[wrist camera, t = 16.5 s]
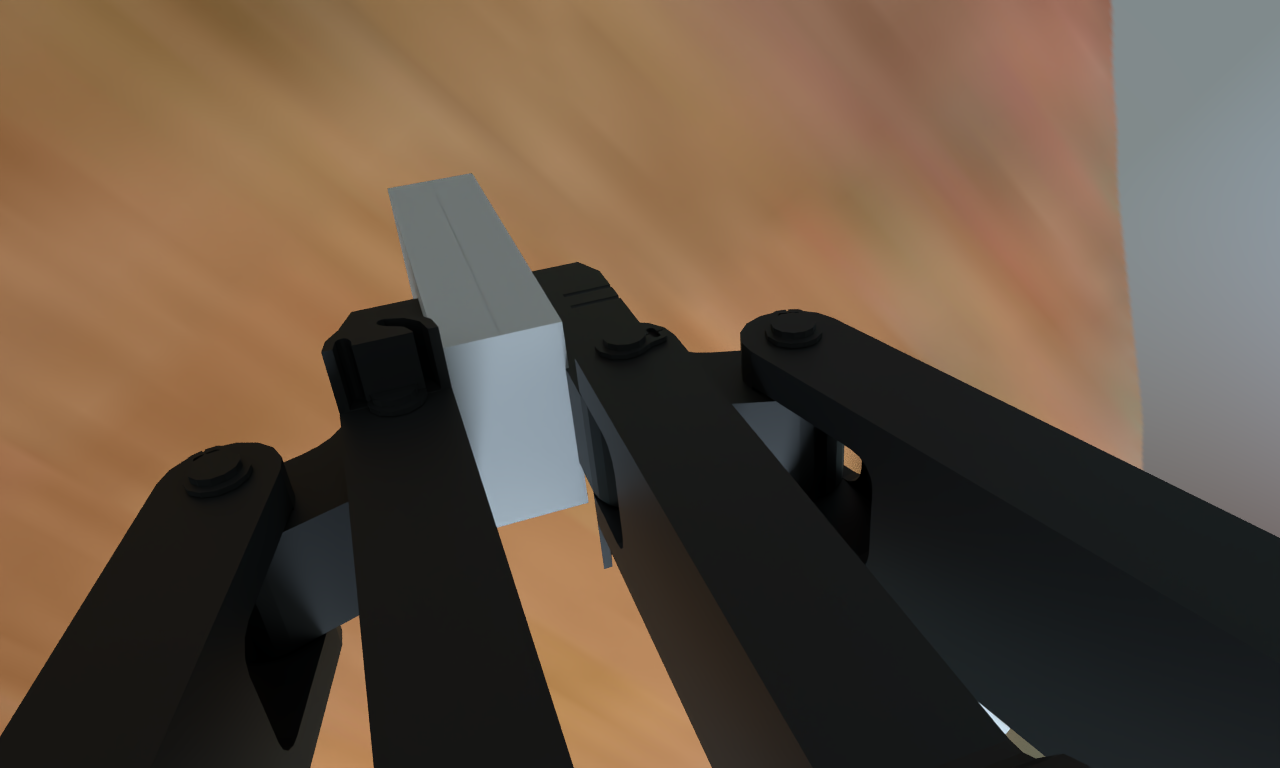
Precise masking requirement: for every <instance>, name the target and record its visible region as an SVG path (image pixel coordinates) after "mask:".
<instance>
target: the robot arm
mask: <svg viewBox="0 0 1280 768" xmlns="http://www.w3.org/2000/svg"><path fill="white" fill-rule="evenodd" d="M388 193H389V197H390V201H391V206H392V210H393V214H394V219H395V223H396V227H397V231H398V236H399V240H400V244H401V248H402V253H403V257H404V261H405V265H406V270H407V274H408V278H409V283H410V287H411V291H412V295H413V299H411V300H406V301H402V302H397V303H392V304H387V305H383V306H378V307H373V308H368V309H364V310H359V311H354V312H351V313H350V315H349V316H348V317H347V319H346V320H345V321H344V323H343V324H342V326H341V327H340V328H339V331H337V332H336V333H335V334H333V335H332V336H331V337H330V338H329V339H328V340H327V341H325V343H324V346H323V349H322V352H321V353H322V356H323V360H324V363H325V366H326V370H327V373H328V376H329V380H330V383H331V386H332V390H333V393H334V396H335V400H336V403H337V406H338V410H339V413H340V421H341V428H340V429H339V430H338V431H337V432H336V433H335V434H334V435H333V436H332V437H331V438H330V439H328V440H327V441H325V442H324V443H322V444H321V445H319V446H318V447H316V448H314V449H312V450H310V451H308V452H306V453H304V454H302V455H300V456H298V457H295V458H293V459H291V460H288V461H286V462H284V463H283V460H282V457H281V456H280V454H279V453H278V452H277V451H276V450H275V449H274V447H270V446H267V445H264V444H261V443H233V444H229V445H224V446H215V447H212V448H209V449H205V451H204V452H202V451H200V452H198V453H196V454H194V455H192V456H190V457H189V458H188V459H186V460H185V461H183V462H181V463H180V464H178V465H177V466H175V467H174V468H172V469H171V470H169V471H168V472H167V473H166V475H165V476H164V477H163V478H162V479H161V480H160V481H159V482H158V483H157V484H156V486H155V487H154V489H153V491H152V492H151V494H150V496H149V497H148V499H147V500H146V502H145V504H144V505H143V507H142V508H141V510H140V512H139V513H138V515H137V517H136V518H135V520H134V521H133V523H132V525H131V526H130V528H129V529H128V531H127V533H126V534H125V536H124V538H123V539H122V541H121V542H120V544H119V546H118V547H117V549H116V550H115V552H114V554H113V555H112V557H111V559H110V560H109V562H108V563H107V565H106V567H105V568H104V570H103V571H102V573H101V575H100V576H99V578H98V580H97V581H96V583H95V584H94V586H93V588H92V589H91V591H90V592H89V594H88V596H87V597H86V599H85V601H84V602H83V604H82V605H81V607H80V609H79V610H78V612H77V613H76V615H75V617H74V618H73V620H72V622H71V623H70V625H69V626H68V628H67V630H66V631H65V633H64V634H63V636H62V638H61V639H60V641H59V642H58V644H57V646H56V647H55V649H54V651H53V652H52V654H51V655H50V657H49V659H48V660H47V662H46V663H45V665H44V667H43V668H42V670H41V672H40V673H39V675H38V676H37V678H36V680H35V681H34V683H33V684H32V686H31V688H30V689H29V691H28V693H27V694H26V696H25V697H24V699H23V701H22V702H21V704H20V705H19V707H18V709H17V710H16V712H15V714H14V715H13V717H12V718H11V720H10V722H9V723H8V725H7V726H6V728H5V730H4V731H3V733H2V735H1V736H0V768H310V766H311V762H312V758H313V755H314V751H315V747H316V743H317V739H318V735H319V732H320V728H321V724H322V720H323V716H324V712H325V709H326V705H327V701H328V697H329V693H330V689H331V686H332V682H333V678H334V674H335V670H336V666H337V663H338V659H339V655H340V651H341V647H342V629H341V626H340V625H342V624H344V623H345V622H347V621H349V620H351V619H353V618H355V617H357V616H358V615H359V618H360V629H361V639H362V649H363V660H364V670H365V681H366V691H367V701H368V712H369V722H370V732H371V743H372V753H373V763H374V768H574V767H573V764H572V761H571V758H570V755H569V751H568V748H567V745H566V742H565V739H564V736H563V733H562V730H561V726H560V723H559V720H558V717H557V714H556V711H555V708H554V705H553V701H552V698H551V695H550V692H549V689H548V686H547V683H546V680H545V677H544V673H543V670H542V667H541V664H540V661H539V658H538V655H537V652H536V648H535V645H534V642H533V639H532V636H531V633H530V630H529V627H528V623H527V620H526V617H525V614H524V611H523V608H522V605H521V602H520V599H519V595H518V592H517V589H516V586H515V583H514V580H513V577H512V574H511V570H510V567H509V564H508V561H507V558H506V555H505V552H504V549H503V545H502V542H501V539H500V536H499V533H498V530H497V527H501V526H504V525H508V524H512V523H515V522H519V521H523V520H526V519H530V518H534V517H537V516H541V515H545V514H548V513H552V512H556V511H559V510H563V509H566V508H570V507H574V506H577V505H581V504H585V503H588V497H587V490H586V483H585V476H584V473H585V475H586V477H587V479H588V481H589V483H590V485H591V487H592V489H593V492H594V499H595V506H596V513H597V520H598V527H599V535H600V542H601V549H602V556H603V563H604V569H606V568H609V567H612V556H611V555H613V557H614V559H615V561H616V563H617V566H618V568H619V570H620V572H621V574H622V576H623V578H624V581H625V583H626V585H627V587H628V589H629V591H630V593H631V596H632V598H633V600H634V602H635V604H636V606H637V608H638V610H639V613H640V615H641V617H642V619H643V621H644V623H645V625H646V628H647V630H648V632H649V634H650V636H651V638H652V640H653V643H654V645H655V647H656V649H657V651H658V653H659V655H660V657H661V660H662V662H663V664H664V666H665V668H666V670H667V672H668V675H669V677H670V679H671V681H672V683H673V685H674V687H675V690H676V692H677V694H678V696H679V698H680V700H681V702H682V704H683V707H684V709H685V711H686V713H687V715H688V717H689V719H690V722H691V724H692V726H693V728H694V730H695V732H696V734H697V737H698V739H699V741H700V743H701V745H702V747H703V749H704V751H705V754H706V756H707V758H708V760H709V762H710V764H711V766H712V768H1280V538H1279V537H1277V536H1275V535H1273V534H1271V533H1269V532H1267V531H1265V530H1263V529H1260V528H1258V527H1256V526H1254V525H1252V524H1250V523H1248V522H1246V521H1244V520H1242V519H1240V518H1238V517H1236V516H1234V515H1232V514H1230V513H1228V512H1226V511H1224V510H1222V509H1220V508H1218V507H1216V506H1214V505H1212V504H1210V503H1208V502H1206V501H1204V500H1201V499H1200V498H1198V497H1195V496H1194V495H1191V494H1189V493H1187V492H1185V491H1183V490H1181V489H1179V488H1177V487H1175V486H1173V485H1171V484H1169V483H1167V482H1165V481H1163V480H1161V479H1159V478H1157V477H1155V476H1153V475H1151V474H1149V473H1147V472H1145V471H1143V470H1141V469H1139V468H1137V467H1135V466H1133V465H1131V464H1129V463H1127V462H1125V461H1122V460H1120V459H1118V458H1116V457H1114V456H1112V455H1110V454H1108V453H1106V452H1104V451H1102V450H1100V449H1098V448H1096V447H1094V446H1092V445H1090V444H1088V443H1086V442H1084V441H1082V440H1080V439H1078V438H1076V437H1074V436H1072V435H1070V434H1068V433H1066V432H1064V431H1062V430H1060V429H1058V428H1055V427H1053V426H1051V425H1049V424H1047V423H1045V422H1043V421H1041V420H1039V419H1037V418H1035V417H1033V416H1031V415H1029V414H1027V413H1025V412H1023V411H1021V410H1019V409H1017V408H1015V407H1013V406H1011V405H1009V404H1007V403H1005V402H1003V401H1001V400H999V399H997V398H995V397H993V396H991V395H988V394H986V393H984V392H982V391H980V390H978V389H976V388H974V387H972V386H970V385H968V384H966V383H964V382H962V381H960V380H958V379H956V378H954V377H952V376H950V375H948V374H946V373H944V372H942V371H940V370H938V369H936V368H934V367H932V366H930V365H928V364H926V363H924V362H922V361H919V360H917V359H915V358H913V357H911V356H909V355H907V354H905V353H903V352H901V351H899V350H897V349H895V348H893V347H891V346H889V345H887V344H885V343H883V342H881V341H879V340H877V339H875V338H873V337H871V336H869V335H867V334H865V333H863V332H861V331H859V330H857V329H855V328H852V327H850V326H848V325H846V324H844V323H842V322H840V321H838V320H836V319H834V318H832V317H829V316H826V315H823V314H820V313H815V312H807V311H802V310H799V309H788V311H786V310H780V311H775V312H774V313H771V314H767V315H763V316H760V317H758V318H756V319H754V320H752V321H751V322H749V323H747V324H746V325H745V327H744V328H743V330H742V331H741V332H740V342H741V351H728V352H712V353H694V352H688V350H687V349H686V348H685V347H684V346H683V344H682V343H681V342H680V341H679V340H678V338H677V337H676V336H675V335H674V334H673V333H671V332H670V331H668V330H667V329H666V328H664V327H661V326H657V325H653V324H650V323H639V321H638V320H637V319H636V317H635V316H634V315H633V314H632V312H631V311H630V310H629V308H628V307H627V306H626V305H625V303H624V302H623V301H622V299H621V298H619V297H618V294H617V293H616V292H615V290H614V289H613V288H612V287H610V284H609V283H608V281H607V280H606V279H605V278H604V276H603V275H602V274H601V272H600V271H598V270H596V269H593V268H591V267H588V266H586V265H584V264H581V263H579V262H575V263H571V264H566V265H561V266H556V267H552V268H547V269H542V270H537V271H531V270H530V268H529V266H528V265H527V263H526V261H525V260H524V258H523V256H522V255H521V253H520V251H519V250H518V248H517V247H516V245H515V243H514V242H513V240H512V238H511V237H510V235H509V233H508V232H507V230H506V228H505V227H504V225H503V223H502V222H501V220H500V219H499V217H498V215H497V214H496V212H495V210H494V209H493V207H492V205H491V204H490V202H489V200H488V199H487V197H486V196H485V194H484V192H483V191H482V189H481V187H480V186H479V184H478V182H477V181H476V179H475V177H474V176H473V174H472V173H471V174H465V175H460V176H454V177H449V178H443V179H438V180H432V181H427V182H421V183H416V184H410V185H405V186H399V187H393V188H388ZM844 445H845V446H847V447H848V448H850V449H851V450H852V451H853V452H855V453H856V454H857V455H858V456H859V457H860V458H861V460H862V469H861V474H858V473H855V472H854V471H852V470H851V469H849V468H847V467H846V466H844ZM980 704H981V705H983V706H984V707H985V708H986V709H988V710H989V711H990V712H991V713H993V714H994V715H995V716H996V717H997V718H999V719H1000V720H1001V721H1002V722H1004V723H1005V724H1006V725H1007V726H1009V727H1010V728H1011V729H1012V730H1014V731H1015V732H1016V733H1017V734H1018V735H1020V736H1021V737H1022V738H1023V739H1025V740H1026V741H1027V742H1028V743H1030V744H1031V745H1032V746H1033V747H1034V748H1036V749H1037V750H1038V751H1039V752H1041V753H1042V754H1043V755H1044V756H1046V757H1042V758H1036V759H1035V758H1033V757H1031V756H1029V755H1027V754H1025V753H1023V752H1022V751H1021V750H1020V749H1019V748H1018V747H1017V746H1016V745H1015V744H1014V743H1013V742H1011V741H1010V740H1009V738H1008V737H1007V736H1006V735H1005V734H1004V732H1003V731H1002V730H1001V729H1000V728H999V726H998V725H997V724H996V723H995V722H994V720H993V719H992V718H991V717H990V715H989V714H988V713H987V712H986V711H985V709H984V708H983V707H982V706H981V705H980Z"/></svg>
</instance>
